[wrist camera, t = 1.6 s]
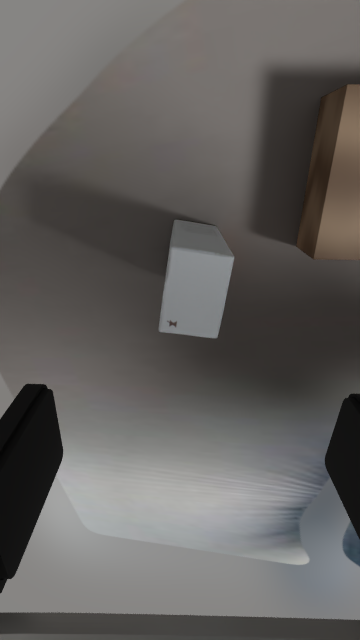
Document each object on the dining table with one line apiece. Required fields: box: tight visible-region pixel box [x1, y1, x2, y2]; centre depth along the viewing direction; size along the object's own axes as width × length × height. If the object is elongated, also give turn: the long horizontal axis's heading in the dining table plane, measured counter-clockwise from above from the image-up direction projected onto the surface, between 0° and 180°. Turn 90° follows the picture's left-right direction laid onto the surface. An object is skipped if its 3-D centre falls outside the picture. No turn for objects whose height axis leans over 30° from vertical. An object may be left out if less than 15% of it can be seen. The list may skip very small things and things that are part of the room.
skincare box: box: [159, 220, 235, 338], centre depth 26 cm, size 6×4×12 cm
